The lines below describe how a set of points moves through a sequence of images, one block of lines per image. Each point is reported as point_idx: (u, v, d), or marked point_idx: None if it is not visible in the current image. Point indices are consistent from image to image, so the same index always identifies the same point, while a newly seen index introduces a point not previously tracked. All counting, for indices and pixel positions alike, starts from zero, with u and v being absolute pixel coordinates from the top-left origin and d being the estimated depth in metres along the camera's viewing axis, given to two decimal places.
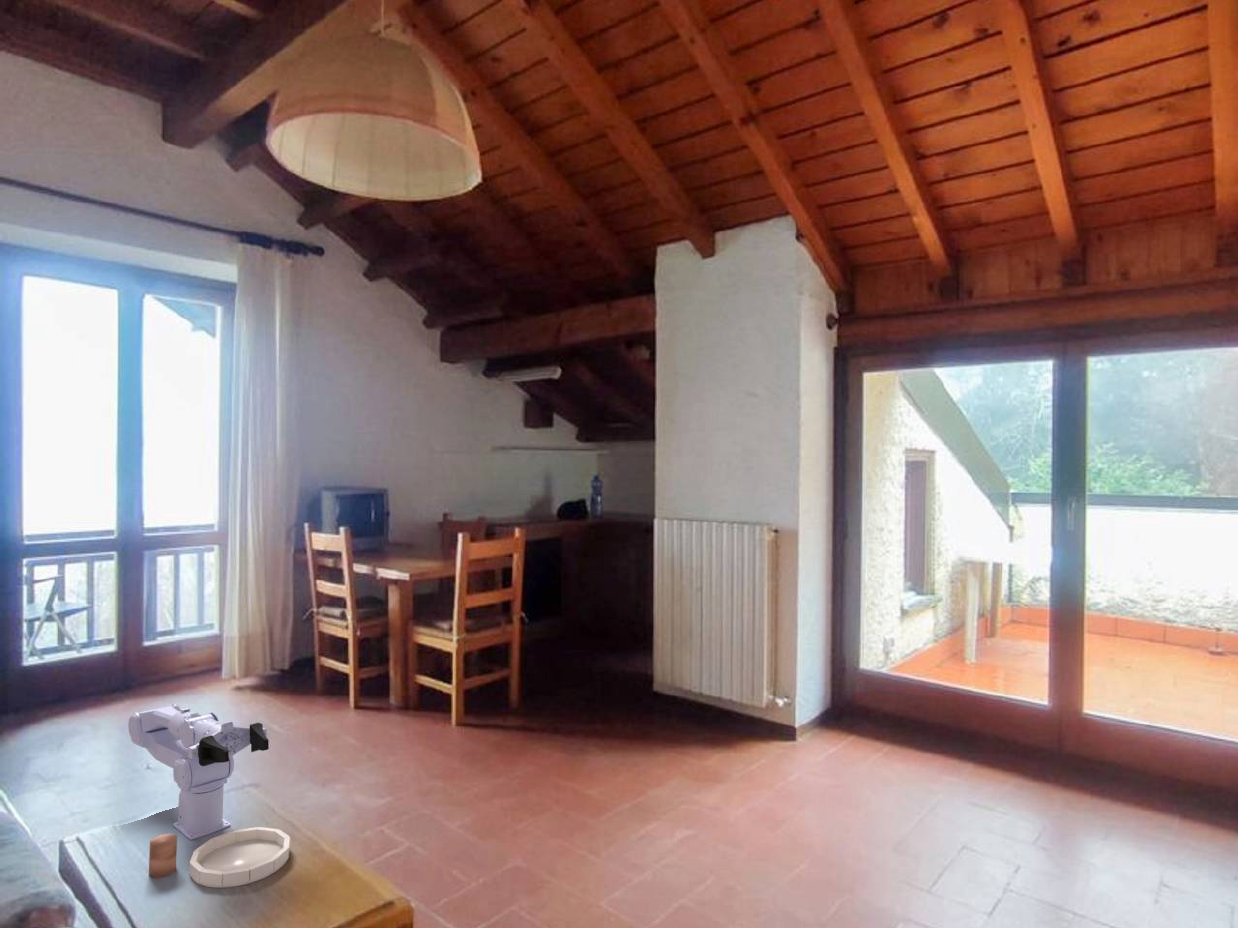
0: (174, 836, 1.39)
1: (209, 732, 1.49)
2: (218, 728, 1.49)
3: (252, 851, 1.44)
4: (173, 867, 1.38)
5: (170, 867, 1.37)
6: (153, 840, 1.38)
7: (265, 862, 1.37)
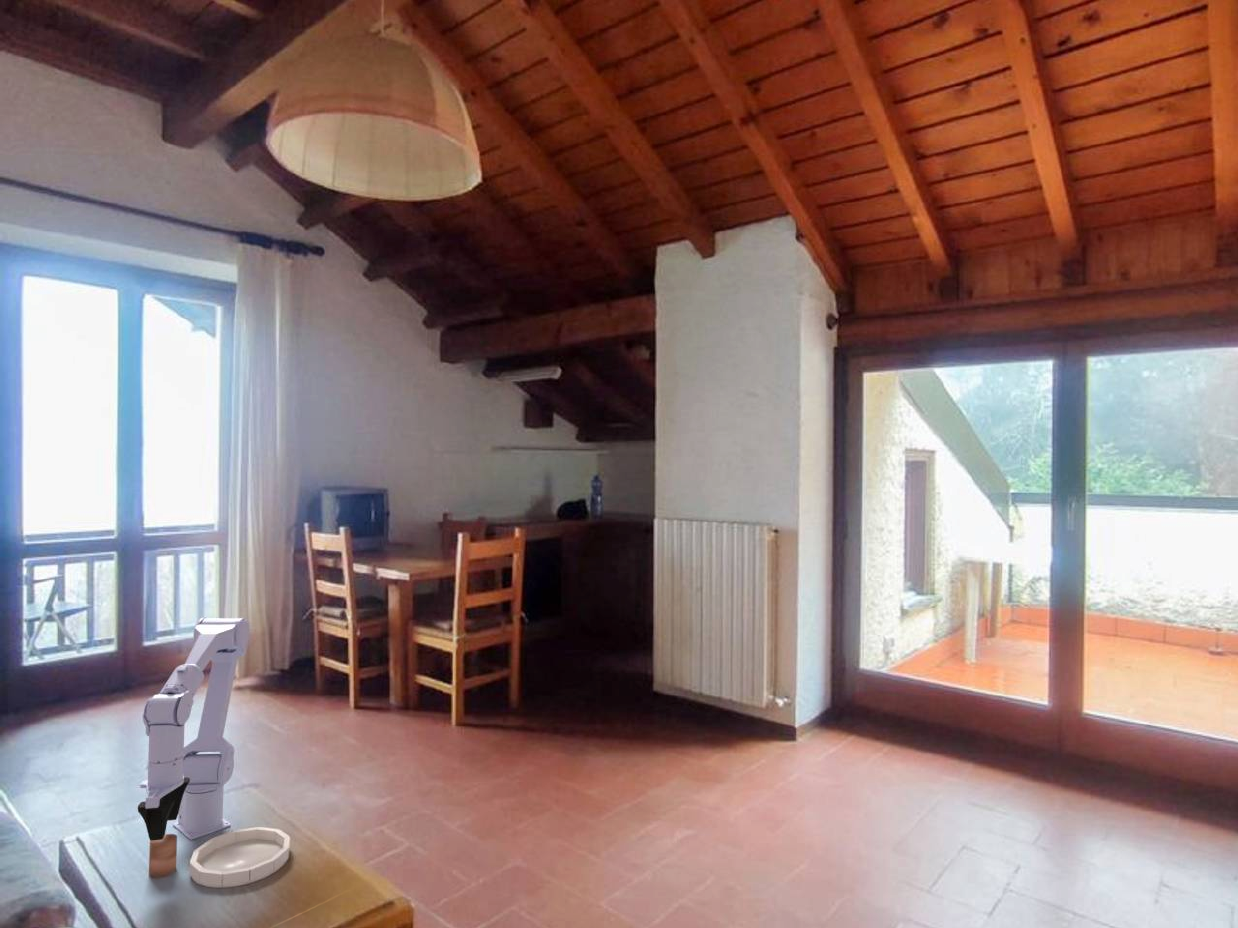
0: (174, 836, 1.39)
1: None
2: None
3: (252, 851, 1.44)
4: (173, 867, 1.38)
5: (170, 867, 1.37)
6: (153, 840, 1.38)
7: (265, 862, 1.37)
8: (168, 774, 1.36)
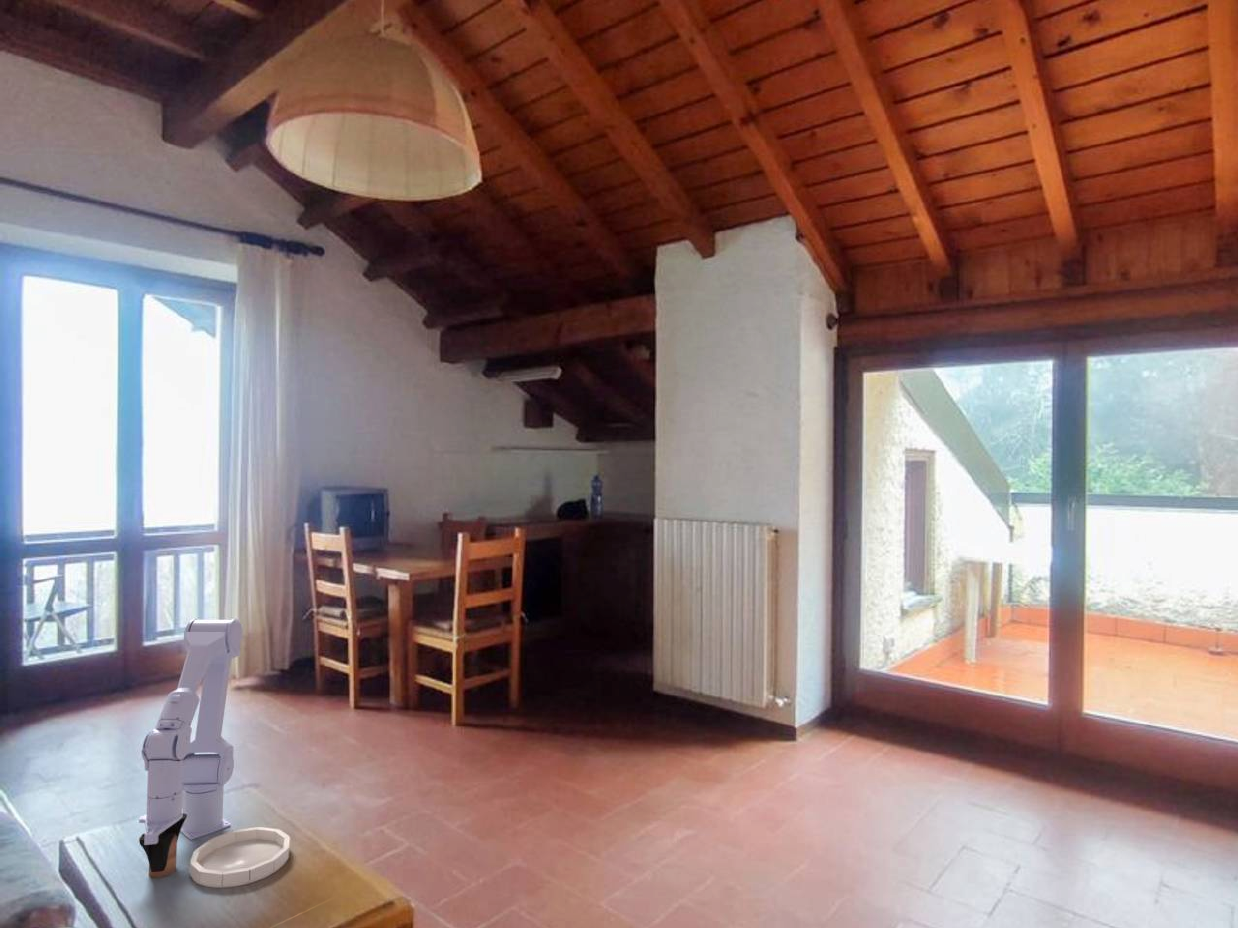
0: (174, 836, 1.39)
1: None
2: None
3: (252, 851, 1.44)
4: (173, 867, 1.38)
5: (170, 867, 1.37)
6: None
7: (265, 862, 1.37)
8: (167, 809, 1.36)
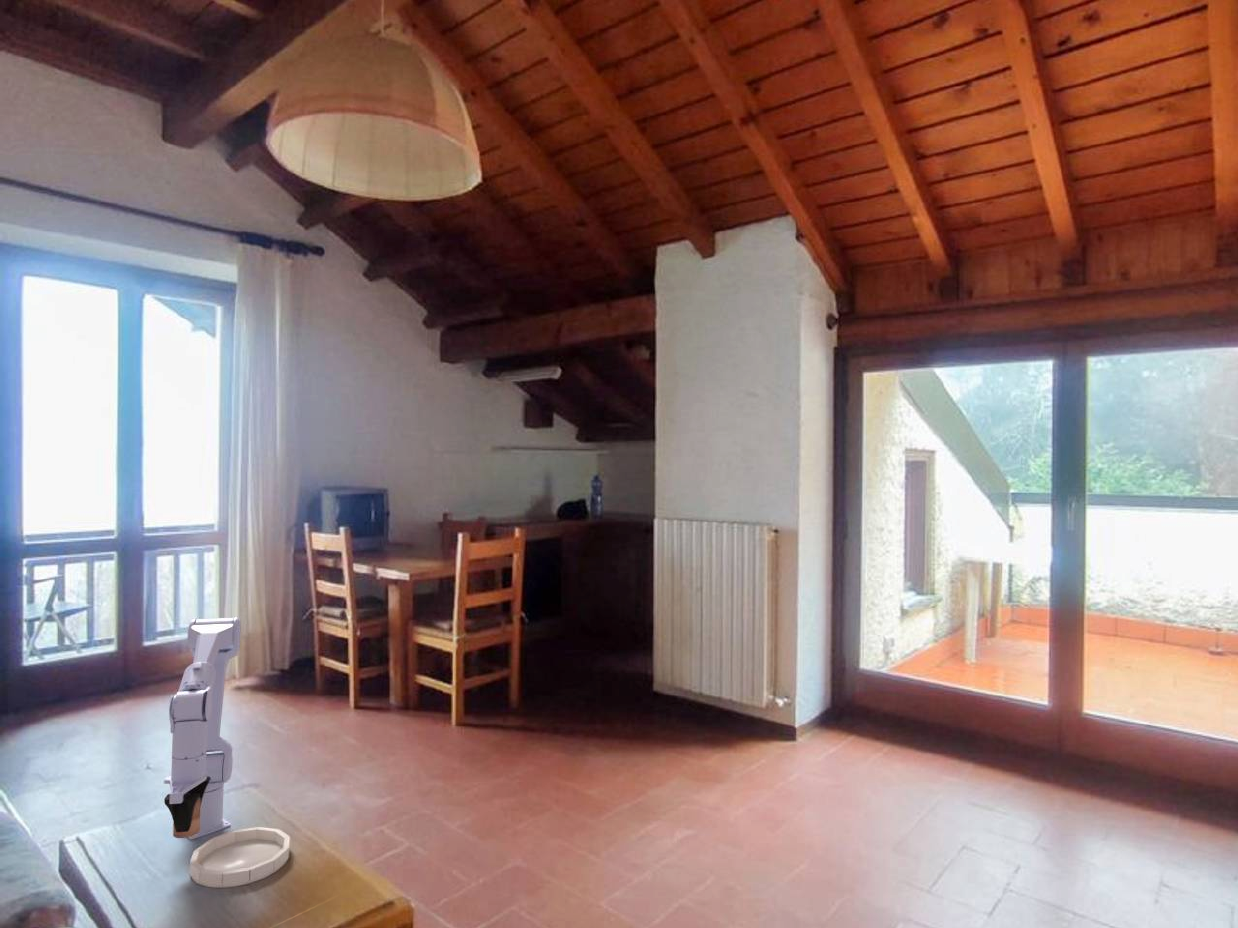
0: (198, 798, 1.40)
1: None
2: None
3: (252, 851, 1.44)
4: (197, 828, 1.39)
5: (194, 828, 1.38)
6: None
7: (265, 862, 1.37)
8: (192, 770, 1.37)
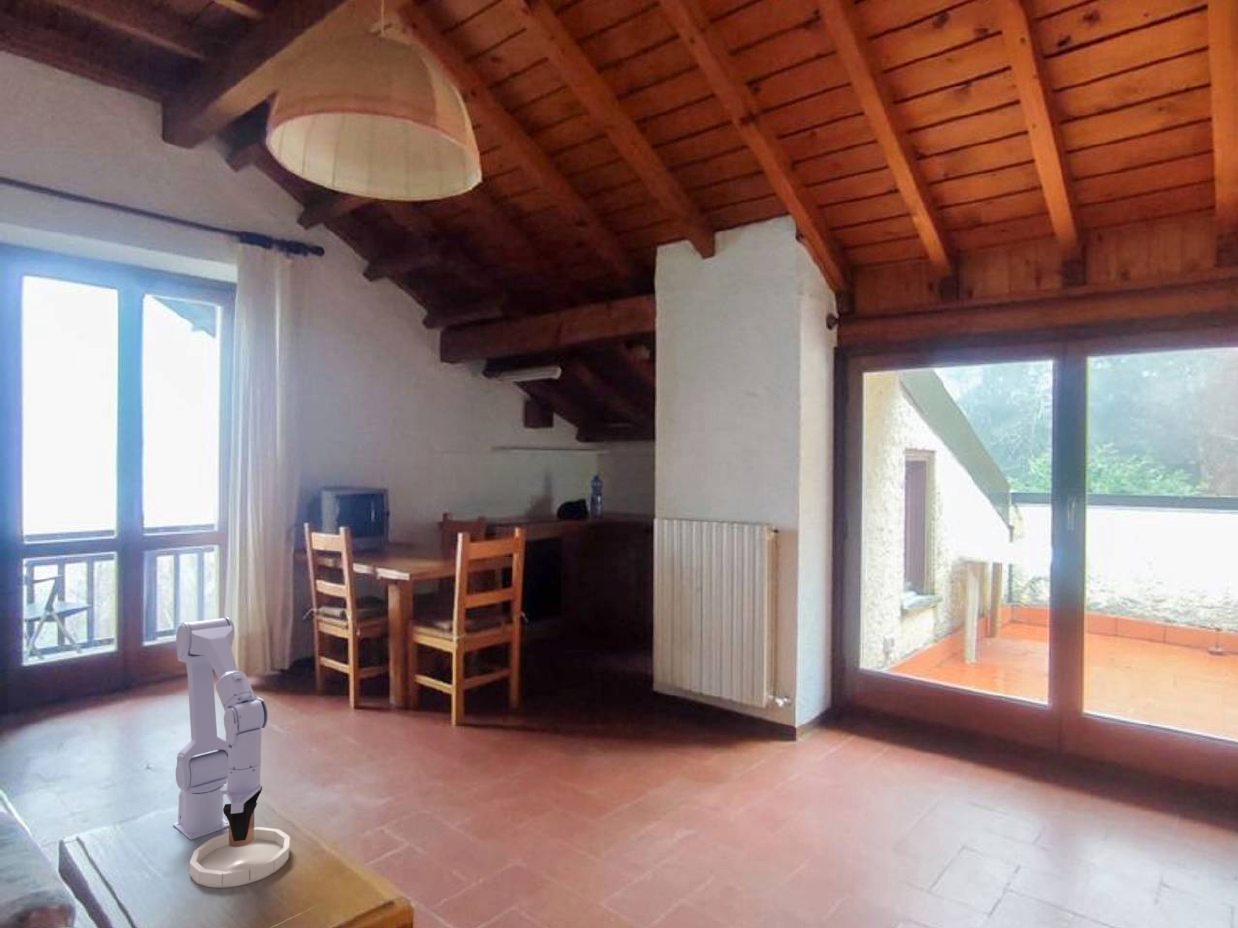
0: None
1: None
2: None
3: (252, 851, 1.44)
4: (252, 836, 1.41)
5: (250, 836, 1.41)
6: None
7: (265, 862, 1.37)
8: (249, 780, 1.40)
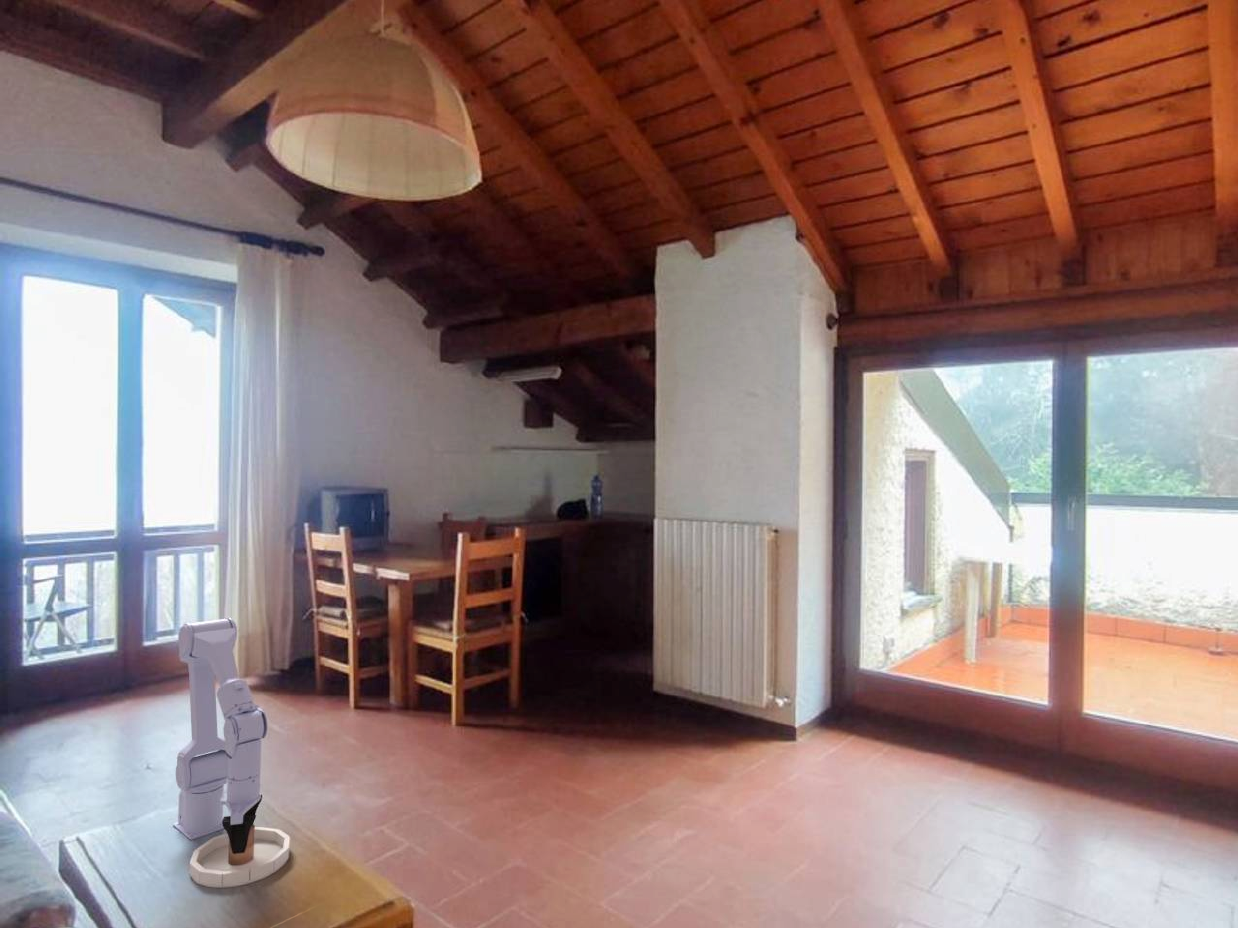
0: None
1: None
2: None
3: None
4: (251, 855, 1.41)
5: (249, 855, 1.41)
6: None
7: (265, 862, 1.37)
8: (248, 791, 1.40)
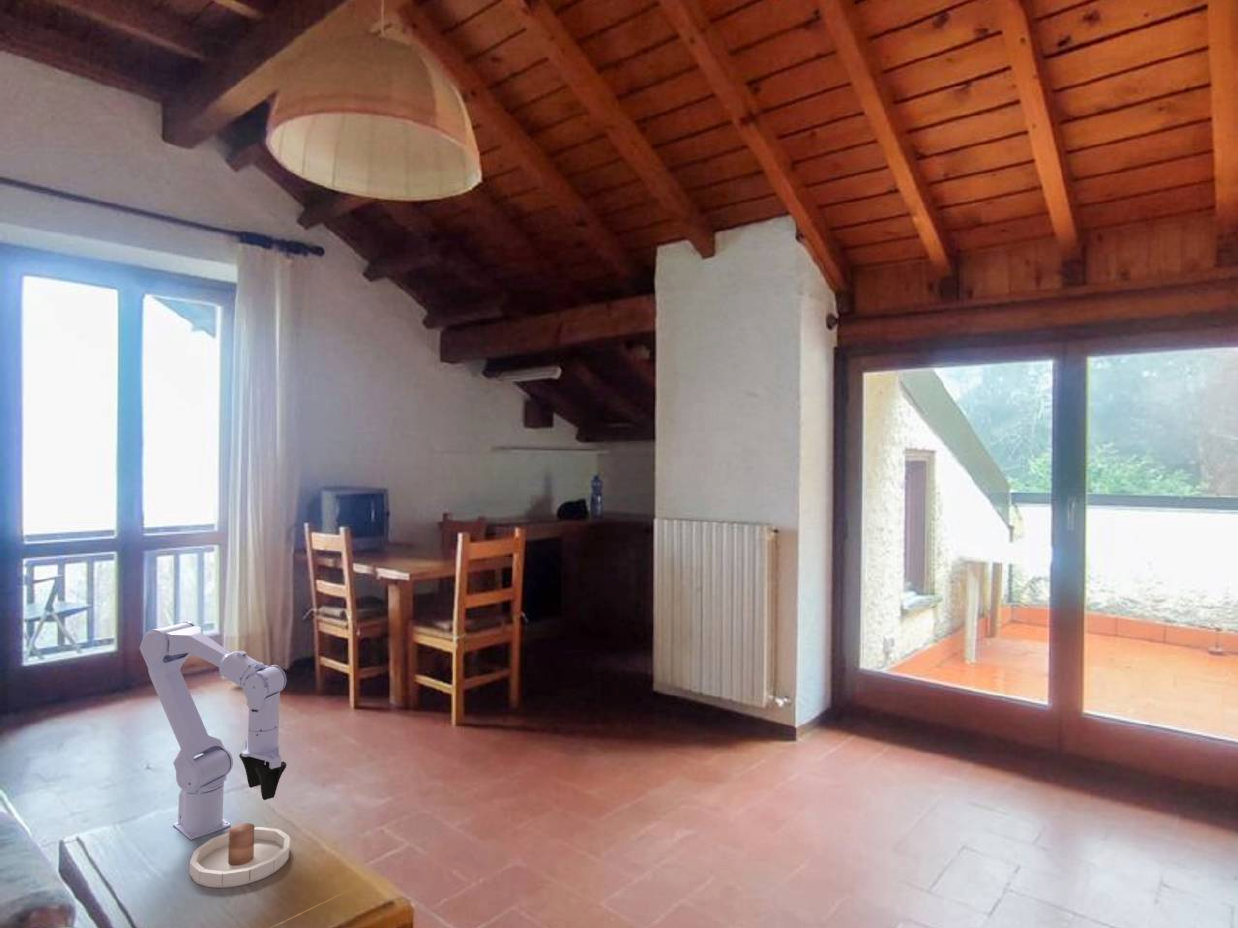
0: (251, 825, 1.43)
1: None
2: (248, 742, 1.50)
3: None
4: (251, 855, 1.41)
5: (249, 855, 1.41)
6: (231, 829, 1.41)
7: (265, 862, 1.37)
8: (274, 739, 1.50)
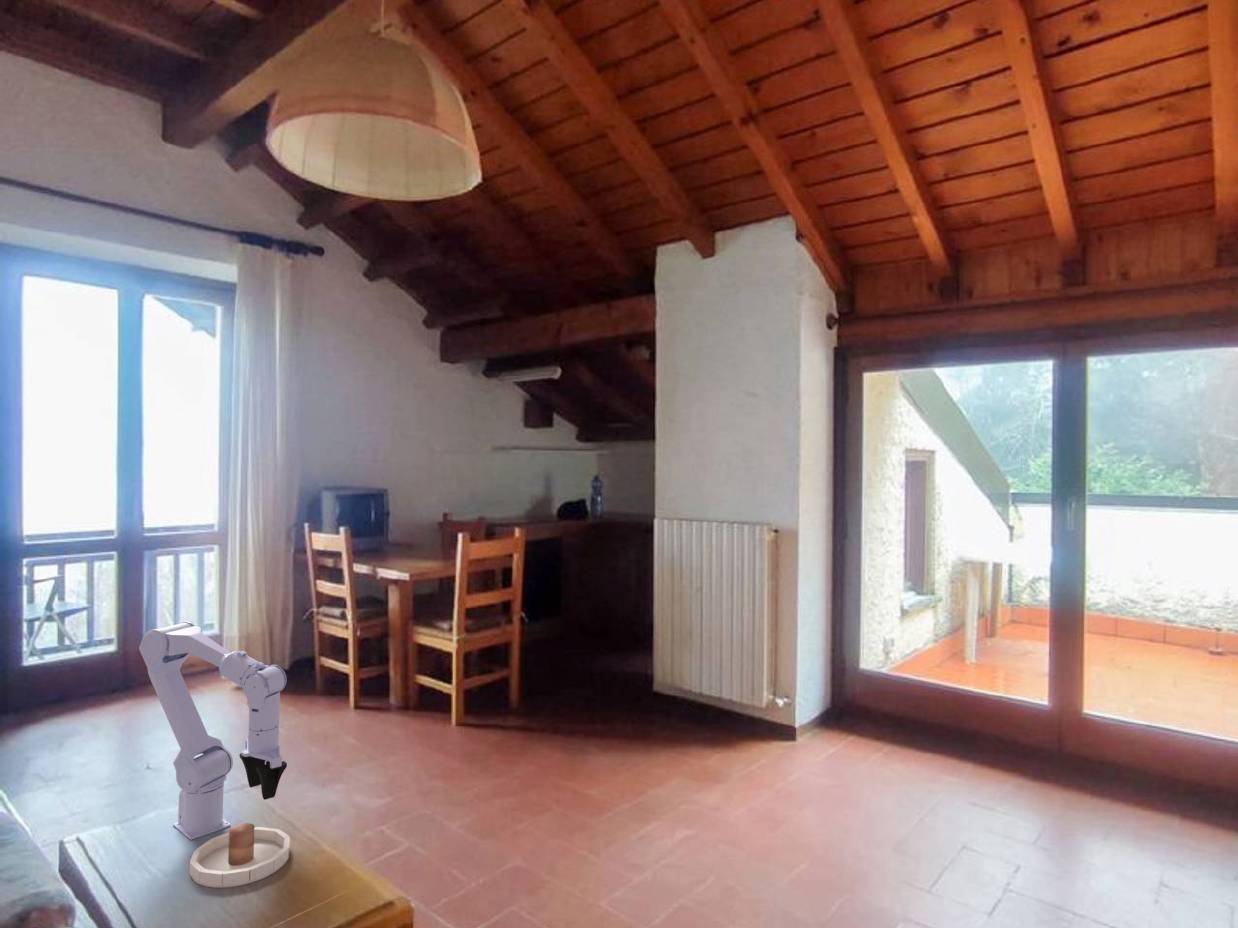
0: (251, 825, 1.43)
1: None
2: (248, 742, 1.50)
3: None
4: (251, 855, 1.41)
5: (249, 855, 1.41)
6: (231, 829, 1.41)
7: (265, 862, 1.37)
8: (274, 739, 1.51)
